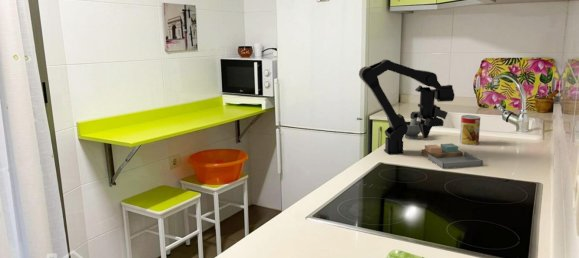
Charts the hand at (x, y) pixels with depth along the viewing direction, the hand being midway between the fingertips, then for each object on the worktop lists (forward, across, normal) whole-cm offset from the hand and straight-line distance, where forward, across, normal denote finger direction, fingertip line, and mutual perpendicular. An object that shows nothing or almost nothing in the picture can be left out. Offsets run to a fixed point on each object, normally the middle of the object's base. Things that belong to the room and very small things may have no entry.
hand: (425, 138), depth 189 cm
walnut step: (+5, -8, -4) cm, 10 cm away
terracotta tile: (+4, -7, 0) cm, 8 cm away
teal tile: (+4, -7, -7) cm, 11 cm away
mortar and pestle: (+6, +24, -5) cm, 25 cm away
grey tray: (+5, -18, -4) cm, 19 cm away
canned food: (+6, +8, -25) cm, 26 cm away
